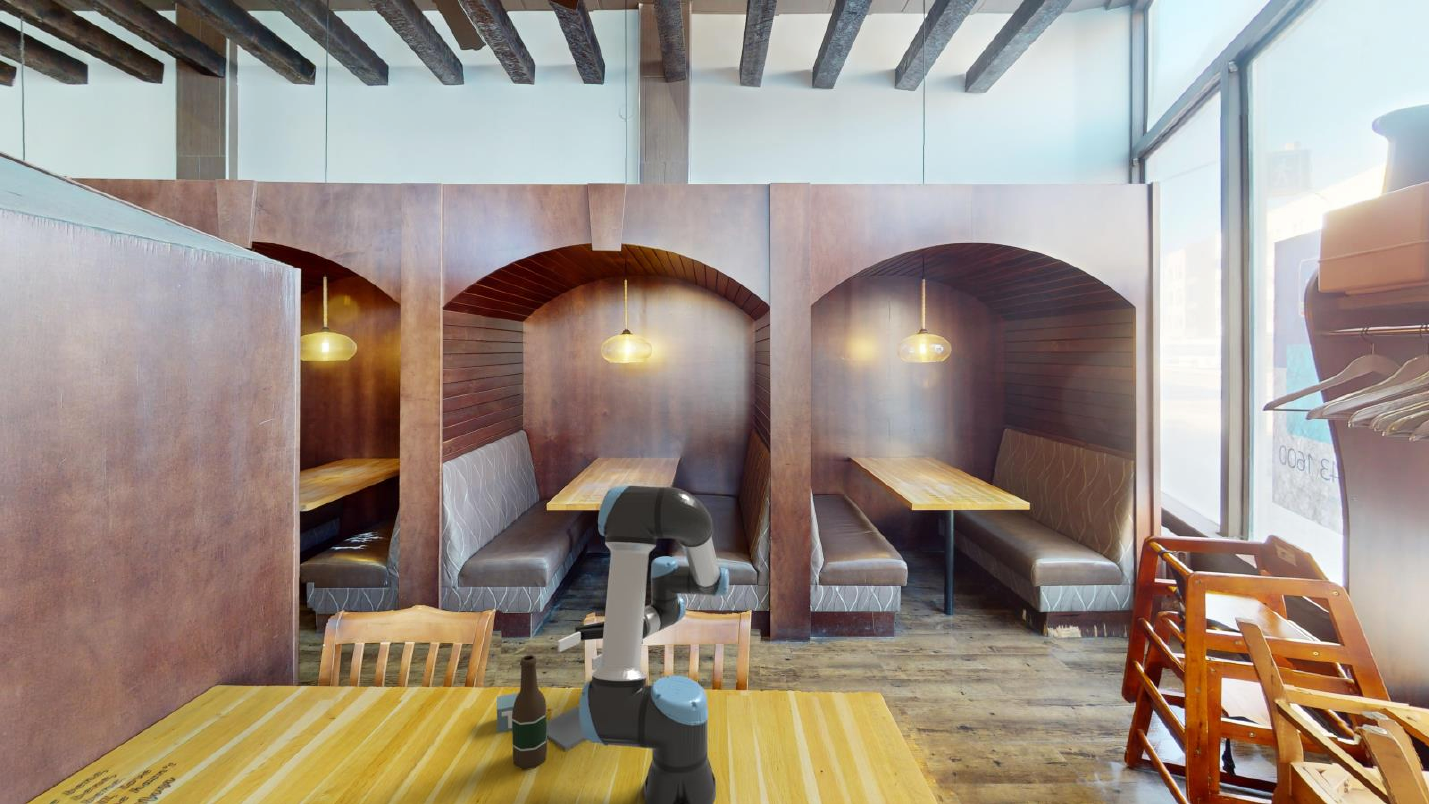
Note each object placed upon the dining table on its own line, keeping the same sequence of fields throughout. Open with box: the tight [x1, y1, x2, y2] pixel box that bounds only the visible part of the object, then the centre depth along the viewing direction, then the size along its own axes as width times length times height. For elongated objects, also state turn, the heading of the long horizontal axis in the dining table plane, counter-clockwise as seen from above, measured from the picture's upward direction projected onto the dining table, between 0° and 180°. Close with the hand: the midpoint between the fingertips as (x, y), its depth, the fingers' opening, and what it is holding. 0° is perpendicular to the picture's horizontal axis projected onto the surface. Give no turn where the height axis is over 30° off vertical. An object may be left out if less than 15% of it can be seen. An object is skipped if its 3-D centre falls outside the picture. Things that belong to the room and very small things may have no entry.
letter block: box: [496, 692, 519, 733], centre depth 149 cm, size 6×6×6 cm
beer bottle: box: [511, 654, 548, 770], centre depth 135 cm, size 8×8×24 cm
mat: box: [547, 705, 586, 751], centre depth 147 cm, size 12×12×1 cm
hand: (575, 655), depth 144 cm, fingers open, 13 cm apart
